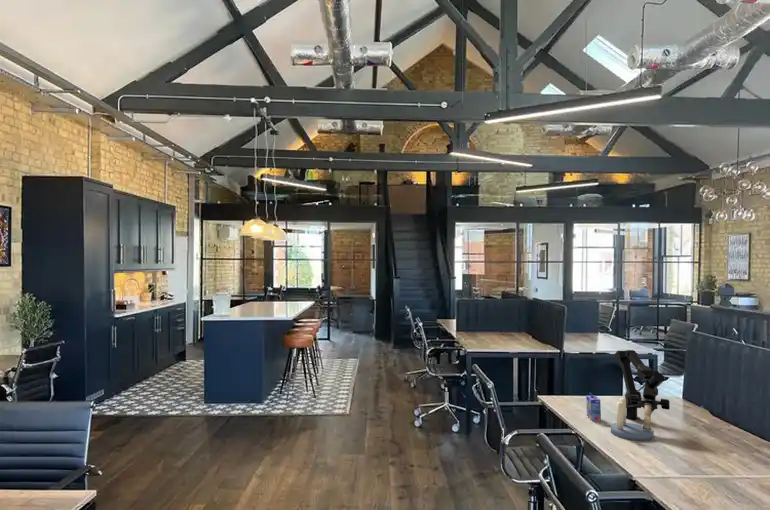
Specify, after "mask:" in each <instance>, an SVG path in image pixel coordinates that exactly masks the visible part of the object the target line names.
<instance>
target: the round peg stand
mask: <svg viewBox="0 0 770 510" xmlns="http://www.w3.org/2000/svg"><path fill="white" fill-rule="evenodd" d="M643 426H644V424H637V423H633V422H632V423H631V422H627V418H626V399H625V397H620V398H619V401H617V402H616V422H615V423H612V424H611V425H610V433H611V434H612V435H613V436H615V437H618V438H621V439H625V440H629V441H636V440H637V441H638V442H640V441H641V442H647V441H651V440H653V439H655V438H654V437H655V435H654V434H655V433H654V432H655V430H653V429H654V428H653V425H650V427H651V430H649V429H643ZM637 441H636V442H637Z"/></svg>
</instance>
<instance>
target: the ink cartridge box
mask: <svg viewBox="0 0 770 510" xmlns="http://www.w3.org/2000/svg"><path fill="white" fill-rule="evenodd" d="M585 398H586V417H587V416H588V417H589V418H590V419H591V420H593V421H592V422H602V413H601V411H602V410H601V405H602V404H601V399H600V398H598V397H597V396H596V395H593V393H591V392H589V395H588V394H586V397H585ZM588 417H587V418H588ZM589 418H588V419H589ZM590 419H589V420H590ZM591 420H590V421H591Z"/></svg>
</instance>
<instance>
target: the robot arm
mask: <svg viewBox="0 0 770 510" xmlns="http://www.w3.org/2000/svg"><path fill="white" fill-rule="evenodd" d="M636 352H637V351H635V350H634V349H627V350H617V351H616V352H615V353H614V357H615V360H616V362H617V364H618V365H619V366H620V367H621V371H622V377H623V379H624V384H625V389H626V391H625V395H624V399H626V419H629V420H634V421H635V420H636V421H637V420H639V419H641V417H640V416H638V409H642V408H643V411H645V403H649V404H652V405H651V415H652V413H653V412H654V411H655V410H658V405H659V406H661V408H662V409H663V410H670V408H671V407H670V403H671V402H670V400H669V399H667V398H666V399H665V398H660V400H657V399H656V398H657V396H659V388H658V387H660V385H662V383H663V382H665V379H666V378H665V376H664V375H663V374H662V373H661V372H659V370H653V368H651V367H649V366H648V365H646V364H645V363H644V362H643V361H642V360H641V358H640V357H639V356H638V355H637V353H636ZM631 364H632V365H633V366H634V368H635V369H636V375H637V376H638V378H639V380H640V381H641V380H642V381H644V380H645V381H644V384H643V386H644V387H643V392H642V394H641V391H638V390H637V388H636V384H635V380H634V376H633V371H632V367H631Z"/></svg>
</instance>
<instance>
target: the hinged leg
mask: <svg viewBox="0 0 770 510" xmlns="http://www.w3.org/2000/svg"><path fill="white" fill-rule="evenodd" d="M651 405H652V404H649V403H645V410H643V411H644V413H643V414H644V415H643V416H644V417H643V429H649V430H651V420H652V414H651Z"/></svg>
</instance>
